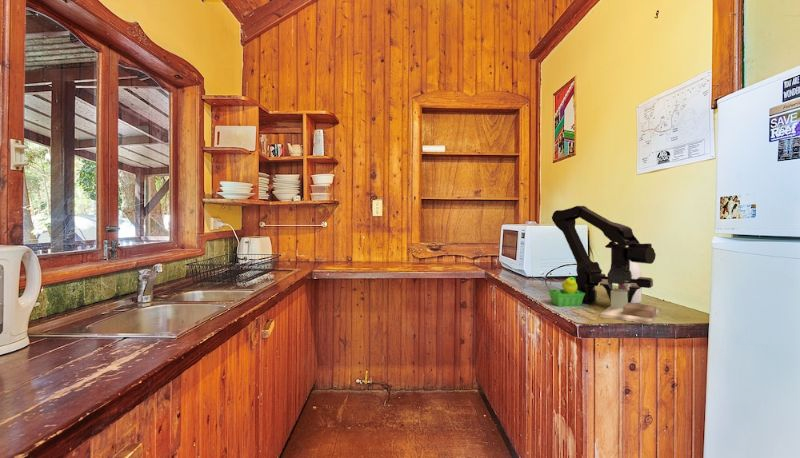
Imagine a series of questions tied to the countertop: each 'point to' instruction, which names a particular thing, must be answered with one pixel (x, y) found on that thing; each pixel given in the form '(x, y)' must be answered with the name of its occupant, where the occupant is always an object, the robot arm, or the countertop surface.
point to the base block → (639, 310)
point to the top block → (619, 297)
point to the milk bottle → (635, 274)
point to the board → (618, 314)
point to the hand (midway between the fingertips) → (620, 303)
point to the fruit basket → (567, 294)
